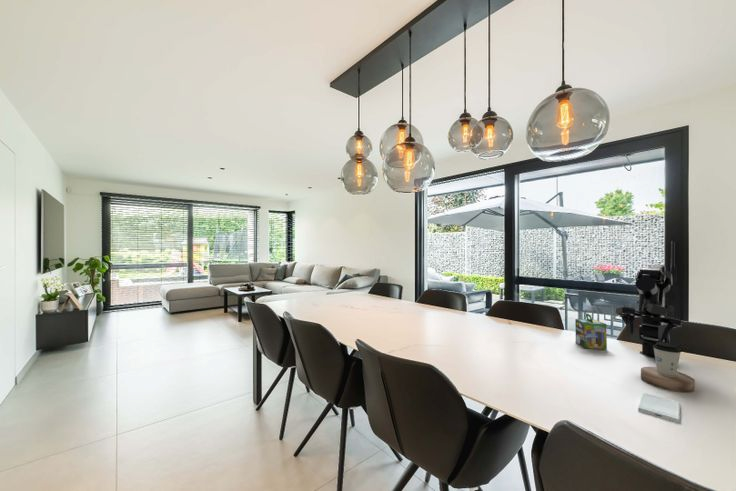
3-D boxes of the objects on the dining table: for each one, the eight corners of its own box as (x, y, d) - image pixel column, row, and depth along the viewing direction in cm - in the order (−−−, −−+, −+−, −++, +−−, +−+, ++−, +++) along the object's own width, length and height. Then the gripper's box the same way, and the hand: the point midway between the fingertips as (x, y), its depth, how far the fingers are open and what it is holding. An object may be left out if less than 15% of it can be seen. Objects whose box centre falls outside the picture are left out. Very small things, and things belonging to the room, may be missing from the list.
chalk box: (607, 350, 136) (607, 316, 136) (584, 348, 138) (584, 315, 138) (596, 343, 145) (596, 312, 145) (574, 342, 147) (574, 311, 147)
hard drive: (642, 392, 95) (638, 407, 86) (680, 402, 89) (679, 418, 80) (642, 397, 95) (638, 412, 86) (680, 408, 89) (679, 425, 80)
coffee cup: (680, 374, 104) (680, 344, 104) (681, 380, 99) (682, 349, 99) (652, 368, 108) (652, 340, 108) (652, 374, 103) (652, 344, 103)
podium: (666, 375, 110) (666, 366, 110) (707, 392, 97) (707, 383, 97) (630, 374, 110) (630, 366, 110) (666, 392, 97) (666, 382, 97)
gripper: (631, 288, 116) (628, 329, 112) (693, 302, 110) (691, 345, 106) (616, 294, 126) (612, 331, 122) (672, 307, 121) (670, 346, 117)
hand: (645, 338), depth 117 cm, fingers open, 9 cm apart
